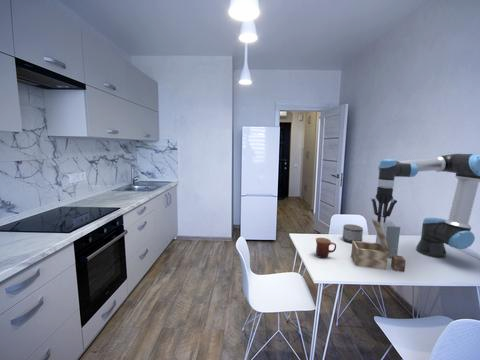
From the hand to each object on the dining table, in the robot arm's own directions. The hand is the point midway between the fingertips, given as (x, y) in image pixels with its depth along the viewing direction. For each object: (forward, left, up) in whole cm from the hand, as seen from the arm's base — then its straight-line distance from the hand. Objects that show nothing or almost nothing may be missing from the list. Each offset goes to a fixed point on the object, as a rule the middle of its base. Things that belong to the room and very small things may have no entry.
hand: (380, 227), depth 135 cm
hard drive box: (-10, -18, -22) cm, 30 cm away
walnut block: (-9, +4, -22) cm, 24 cm away
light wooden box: (+5, 0, -22) cm, 22 cm away
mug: (+29, -1, -22) cm, 36 cm away
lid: (0, 0, -4) cm, 4 cm away
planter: (+7, -33, -22) cm, 40 cm away
